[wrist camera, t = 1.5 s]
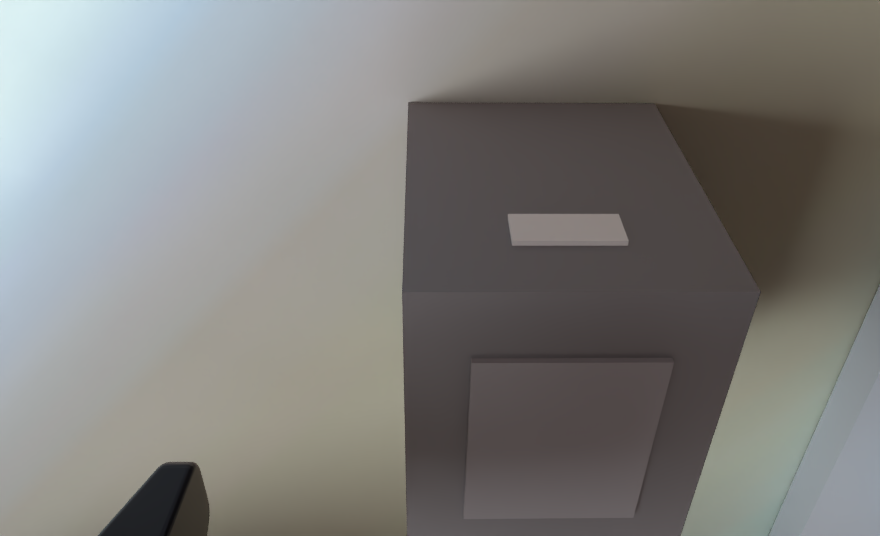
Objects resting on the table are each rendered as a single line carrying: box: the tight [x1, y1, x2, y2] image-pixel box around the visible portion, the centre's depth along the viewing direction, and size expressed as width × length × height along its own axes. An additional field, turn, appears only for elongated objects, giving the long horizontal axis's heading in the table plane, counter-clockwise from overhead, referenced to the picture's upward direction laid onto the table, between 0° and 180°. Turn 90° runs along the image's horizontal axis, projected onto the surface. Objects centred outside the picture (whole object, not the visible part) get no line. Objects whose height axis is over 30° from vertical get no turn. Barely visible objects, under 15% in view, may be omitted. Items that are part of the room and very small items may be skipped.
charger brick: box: [402, 102, 761, 536], centre depth 12 cm, size 4×5×5 cm
